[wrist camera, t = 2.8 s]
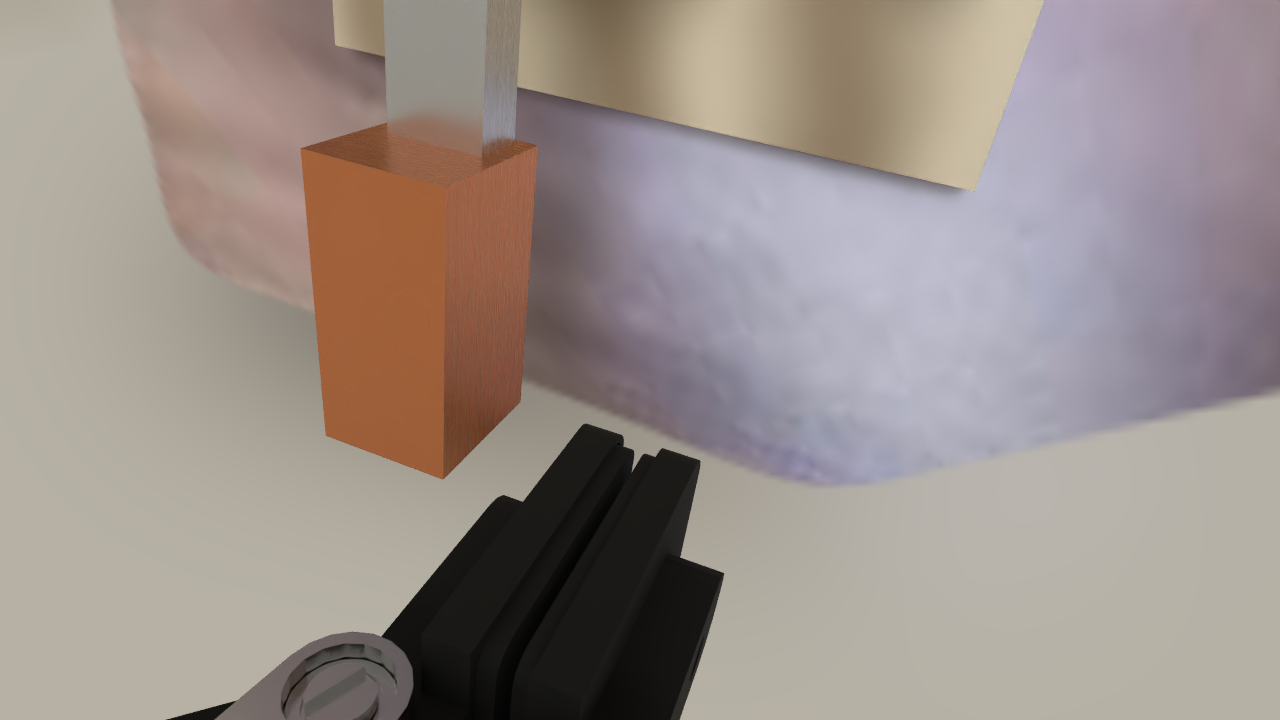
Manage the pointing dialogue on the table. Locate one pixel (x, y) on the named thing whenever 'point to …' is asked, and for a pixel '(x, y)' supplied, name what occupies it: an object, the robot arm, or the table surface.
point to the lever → (426, 241)
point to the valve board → (781, 70)
